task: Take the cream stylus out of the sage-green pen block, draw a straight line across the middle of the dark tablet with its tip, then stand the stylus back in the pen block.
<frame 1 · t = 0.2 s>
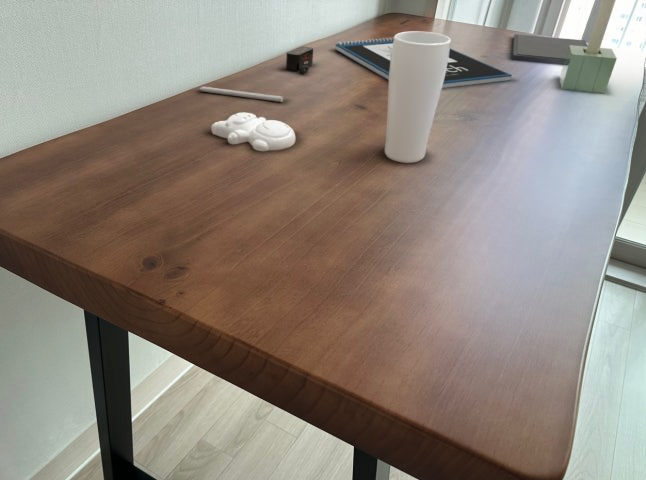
drinking glass: (403, 157, 77), on the table
white animal figurine: (254, 138, 81), on the table
pen block: (581, 86, 103), on the table
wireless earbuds: (300, 70, 109), on the table
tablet: (549, 52, 123), on the table
sketchbook: (415, 65, 113), on the table
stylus: (594, 43, 99), in a hole of the pen block
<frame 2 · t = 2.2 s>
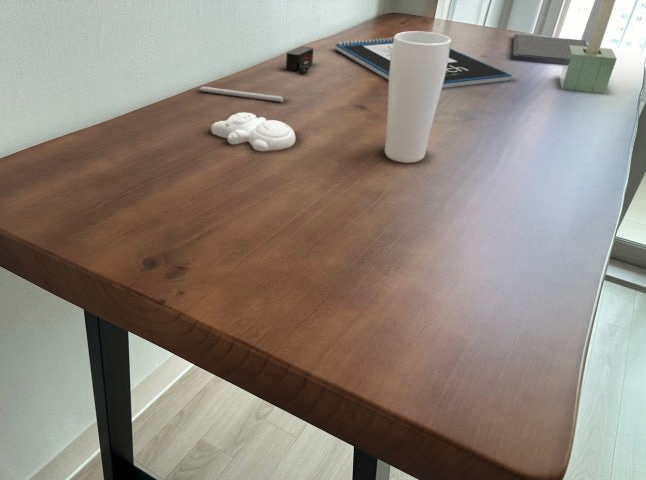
nothing on the table moved.
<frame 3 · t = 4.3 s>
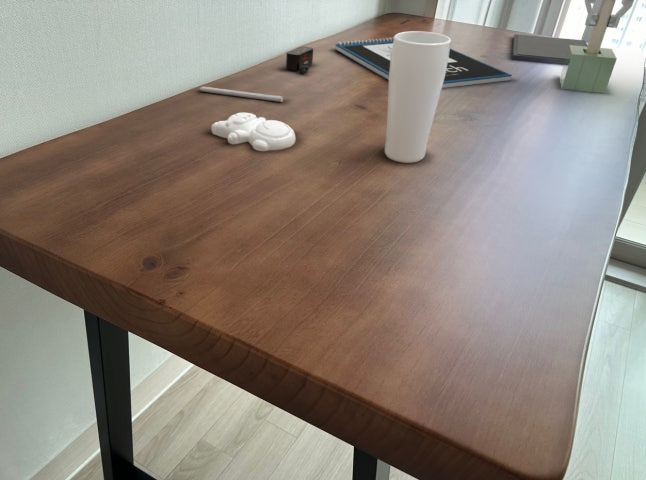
hand: (600, 26, 98), 10 cm above the table, tool pointing down, fingers closed on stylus, 2 cm apart
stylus: (594, 43, 99), in a hole of the pen block, touching gripper
everything else where it was.
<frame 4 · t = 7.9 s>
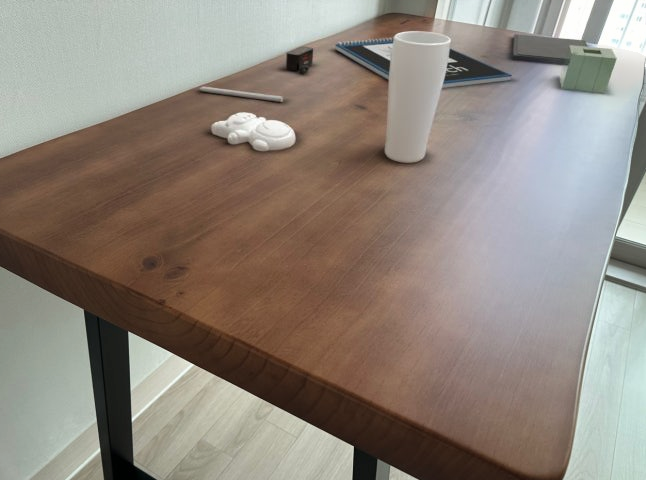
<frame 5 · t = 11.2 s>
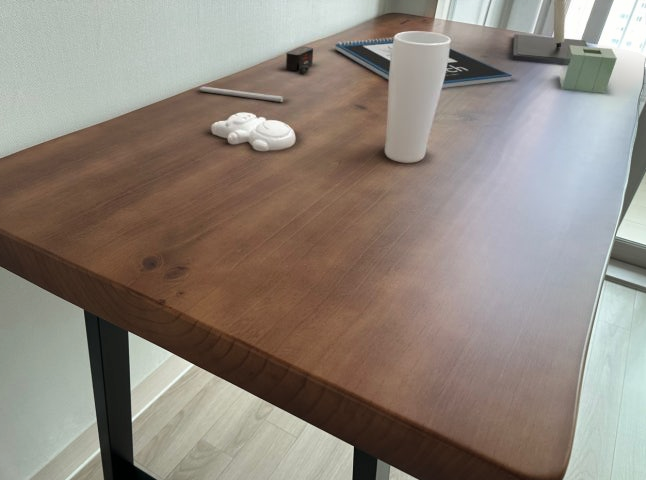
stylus: (559, 10, 118), point 8 cm above the table, tilted 15°, touching gripper
everything else where it was.
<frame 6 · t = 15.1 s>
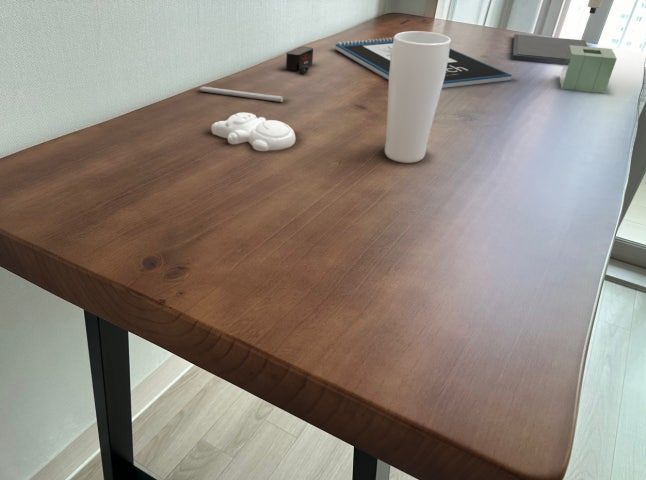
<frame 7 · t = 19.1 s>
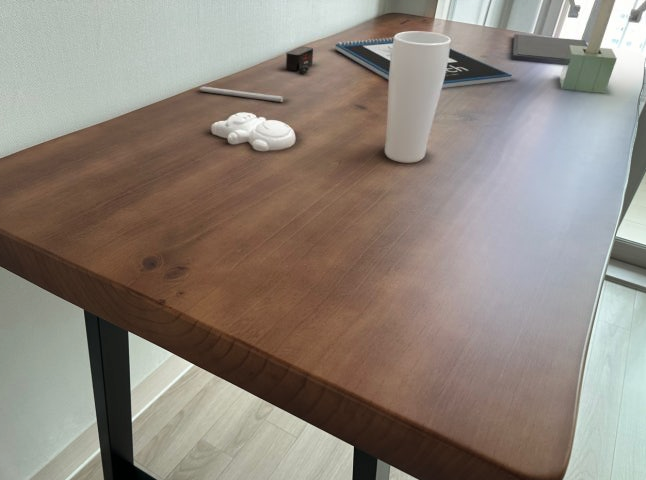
hand: (602, 19, 97), 11 cm above the table, tool pointing down, fingers open, 8 cm apart
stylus: (594, 44, 99), in a hole of the pen block
everything else where it was.
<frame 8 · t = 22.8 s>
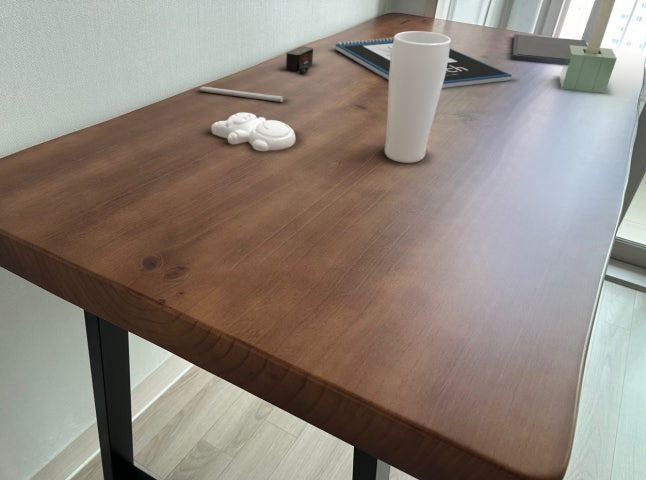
nothing on the table moved.
at the end: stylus 0.1 cm off-centre in the pen block, point 7.2 cm above the pen block's base; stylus tilted 0°; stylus touching table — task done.
